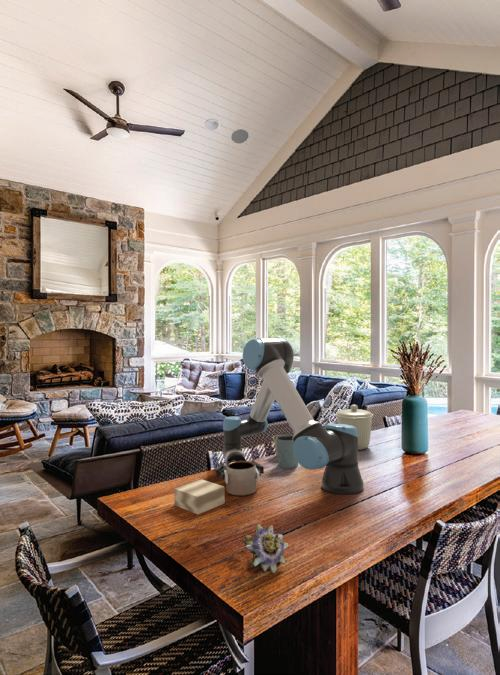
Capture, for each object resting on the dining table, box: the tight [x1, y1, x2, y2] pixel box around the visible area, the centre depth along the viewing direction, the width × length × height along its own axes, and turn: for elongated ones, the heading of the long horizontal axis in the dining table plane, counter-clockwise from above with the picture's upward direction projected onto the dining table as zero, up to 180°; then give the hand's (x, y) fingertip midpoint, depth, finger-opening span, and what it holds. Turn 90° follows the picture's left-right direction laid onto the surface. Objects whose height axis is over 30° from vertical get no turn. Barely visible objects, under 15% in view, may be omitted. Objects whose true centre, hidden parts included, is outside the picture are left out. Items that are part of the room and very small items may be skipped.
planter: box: [226, 460, 258, 497], centre depth 162 cm, size 11×11×10 cm
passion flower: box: [242, 523, 289, 574], centre depth 111 cm, size 11×11×12 cm
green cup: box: [276, 434, 299, 469], centre depth 192 cm, size 10×10×12 cm
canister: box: [335, 404, 374, 451], centre depth 217 cm, size 18×18×21 cm
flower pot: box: [272, 434, 283, 457], centre depth 206 cm, size 9×9×9 cm
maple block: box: [173, 478, 226, 515], centre depth 151 cm, size 12×12×6 cm
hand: (242, 478), depth 158 cm, fingers closed on planter, 11 cm apart
